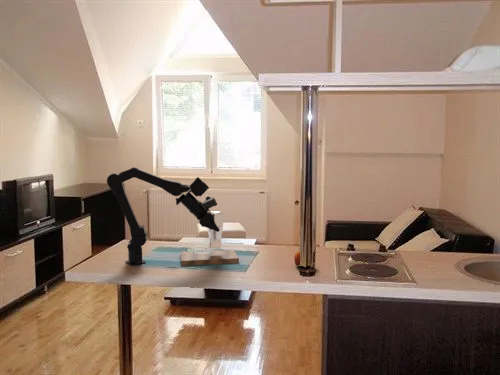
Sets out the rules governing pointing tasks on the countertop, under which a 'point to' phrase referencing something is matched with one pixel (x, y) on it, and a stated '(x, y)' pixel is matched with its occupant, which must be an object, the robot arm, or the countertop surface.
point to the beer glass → (214, 235)
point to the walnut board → (209, 257)
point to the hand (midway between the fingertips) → (218, 229)
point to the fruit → (297, 259)
